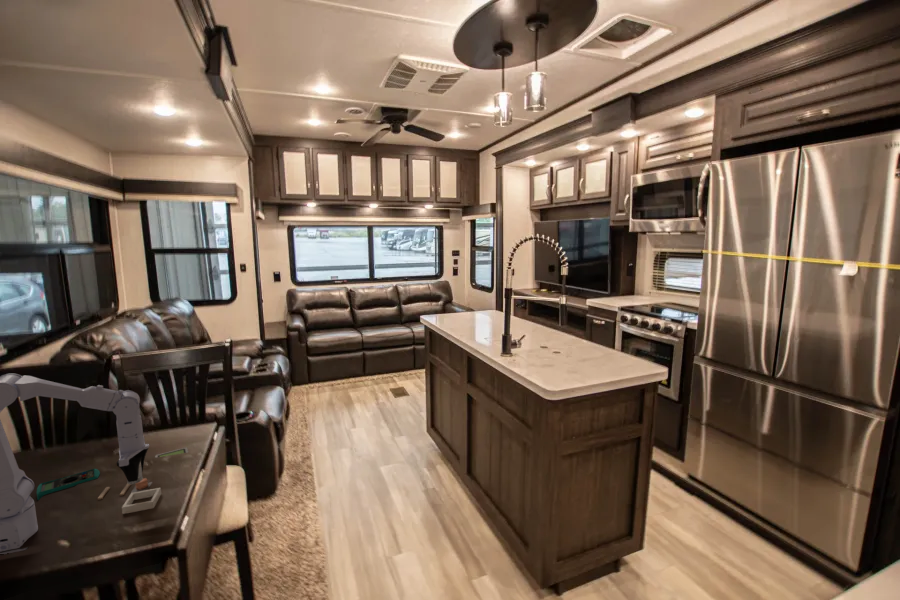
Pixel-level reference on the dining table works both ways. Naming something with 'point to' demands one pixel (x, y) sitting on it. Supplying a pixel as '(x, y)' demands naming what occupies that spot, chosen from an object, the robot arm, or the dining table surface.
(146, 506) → the tray
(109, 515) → the dining table surface
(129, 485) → the beige button panel
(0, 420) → the robot arm
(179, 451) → the handheld gaming console
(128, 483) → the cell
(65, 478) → the digital multimeter
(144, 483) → the test button
